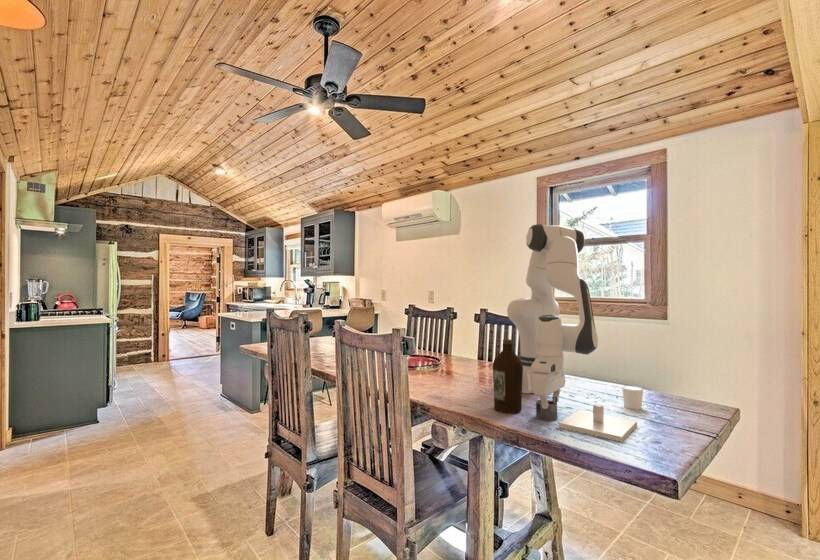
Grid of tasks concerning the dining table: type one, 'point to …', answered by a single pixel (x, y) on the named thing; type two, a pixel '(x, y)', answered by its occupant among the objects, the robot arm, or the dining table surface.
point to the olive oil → (507, 380)
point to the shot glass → (632, 397)
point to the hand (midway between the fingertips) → (550, 404)
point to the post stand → (599, 424)
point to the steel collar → (546, 410)
